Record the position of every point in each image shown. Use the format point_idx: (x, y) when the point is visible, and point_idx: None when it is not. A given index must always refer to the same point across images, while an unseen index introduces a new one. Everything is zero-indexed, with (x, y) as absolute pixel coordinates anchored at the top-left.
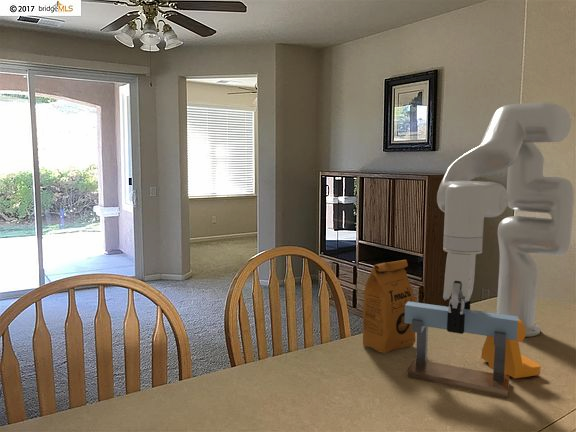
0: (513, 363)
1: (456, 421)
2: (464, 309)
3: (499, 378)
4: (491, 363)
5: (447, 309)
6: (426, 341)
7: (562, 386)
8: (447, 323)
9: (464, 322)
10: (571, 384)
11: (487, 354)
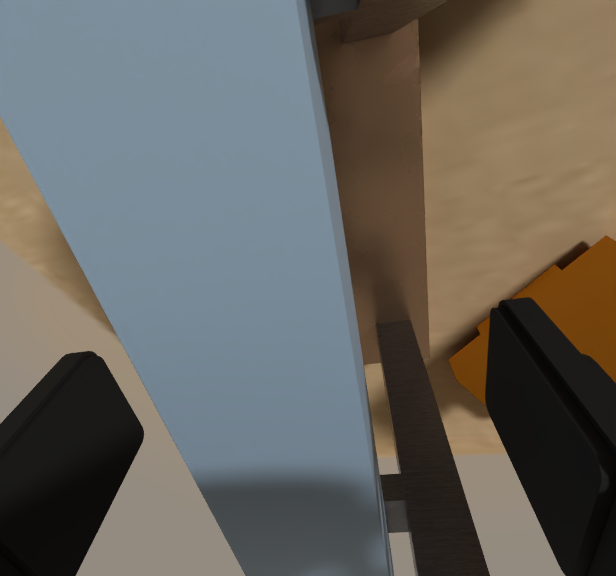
0: (470, 389)
1: (82, 278)
2: (360, 522)
3: (378, 344)
4: (549, 282)
5: (223, 404)
6: (375, 27)
7: (476, 440)
8: (23, 401)
9: (101, 515)
10: (501, 453)
11: (590, 277)
